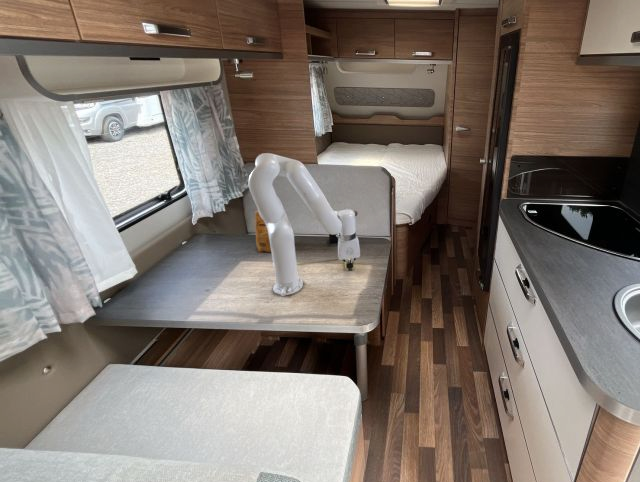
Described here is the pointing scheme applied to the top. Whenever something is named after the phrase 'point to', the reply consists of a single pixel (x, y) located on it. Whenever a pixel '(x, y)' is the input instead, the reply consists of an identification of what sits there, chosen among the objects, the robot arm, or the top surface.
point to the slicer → (333, 239)
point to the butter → (346, 264)
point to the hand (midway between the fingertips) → (350, 269)
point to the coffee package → (261, 234)
